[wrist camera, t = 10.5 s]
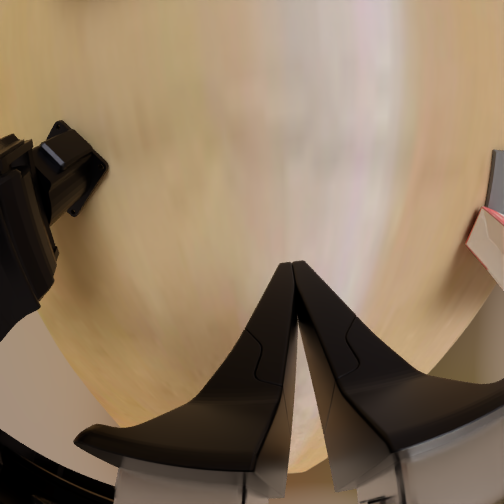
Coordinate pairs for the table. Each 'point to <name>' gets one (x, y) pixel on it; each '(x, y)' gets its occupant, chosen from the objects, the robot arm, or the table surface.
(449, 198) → the table surface
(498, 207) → the mat
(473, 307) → the table surface
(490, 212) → the ink cartridge box
